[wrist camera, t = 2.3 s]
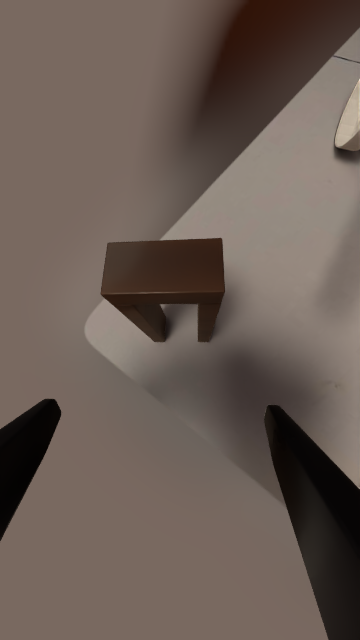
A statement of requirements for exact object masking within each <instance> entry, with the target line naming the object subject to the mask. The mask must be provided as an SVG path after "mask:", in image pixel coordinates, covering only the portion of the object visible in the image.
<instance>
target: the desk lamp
mask: <svg viewBox="0 0 360 640" xmlns="http://www.w3.org/2000/svg"><path fill="white" fill-rule="evenodd" d="M335 146H336V147H337V148H342V149H346V150H351V151H358V150H360V79H359V80H358V82H357V84H356V86H355V88H354V90H353V92H352V95H351V97H350V99H349V101H348V103H347V105H346V108H345V110H344V112H343V115H342V117H341V120H340V122H339V125H338V129H337V132H336V137H335Z"/></svg>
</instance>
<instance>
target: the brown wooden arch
mask: <svg viewBox="0 0 360 640" xmlns="http://www.w3.org/2000/svg"><path fill="white" fill-rule="evenodd" d="M224 293H225V282H224V263H223V244H222V238H212V239H187V240H163V241H140V242H116V243H115V242H114V243H108V244H107V252H106V258H105V265H104V272H103V280H102V287H101V295H102V296H103V297H104V298H105V299H106V300H107V301H109V302H110V303H111V304H112V305H113V306H114V307H116V308H117V309H118V310H119V311H120V312H121V313H122V314H123V315H125V316H126V317H127V318H128V319H129V320H130V321H131V322H133V323H134V324H135V325H136V326H137V327H138V328H139V329H141V330H142V331H143V332H144V333H145V334H146V335H147V336H148V337H150V338H151V339H152V340H153V341H154V342H165V326H166V316H165V314H164V312H163V310H162V308H161V306H160V304H198V342H209V340H210V337H211V334H212V331H213V328H214V324H215V321H216V318H217V315H218V312H219V309H220V306H221V302H222V299H223V296H224Z"/></svg>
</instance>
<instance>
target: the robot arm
mask: <svg viewBox="0 0 360 640" xmlns="http://www.w3.org/2000/svg"><path fill="white" fill-rule="evenodd" d="M60 417H61V410H60V408H59V406H58V404H57V402H56V400H55V399H44V400H42V401H41V402H39V403H38V404H36V405H35V406H33V407H32V408H31V409H29V410H28V411H26V412H25V413H23V414H22V415H20V416H19V417H17V418H16V419H15V420H13V421H12V422H10V423H9V424H7V425H6V426H4V427H3V428H1V429H0V541H1V539H2V537H3V535H4V533H5V531H6V529H7V527H8V525H9V523H10V521H11V519H12V517H13V515H14V514H15V512H16V510H17V508H18V506H19V504H20V502H21V500H22V498H23V496H24V494H25V492H26V490H27V488H28V486H29V485H30V483H31V481H32V479H33V477H34V475H35V473H36V471H37V469H38V467H39V465H40V463H41V461H42V459H43V457H44V455H45V453H46V451H47V449H48V446H49V444H50V441H51V439H52V437H53V434H54V432H55V429H56V427H57V424H58V422H59V420H60ZM264 423H265V428H266V433H267V438H268V442H269V447H270V452H271V456H272V461H273V465H274V469H275V472H276V475H277V478H278V482H279V485H280V488H281V491H282V494H283V497H284V500H285V504H286V507H287V510H288V513H289V516H290V519H291V523H292V526H293V529H294V532H295V535H296V538H297V541H298V545H299V547H300V551H301V554H302V557H303V560H304V563H305V566H306V570H307V573H308V576H309V579H310V582H311V585H312V589H313V592H314V595H315V598H316V601H317V604H318V608H319V611H320V614H321V617H322V620H323V623H324V626H325V630H326V633H327V636H328V639H329V640H360V489H359V488H358V487H357V486H356V485H355V484H354V483H353V482H352V481H351V480H350V479H349V478H348V477H347V476H346V475H345V474H344V473H343V472H342V470H341V469H340V468H339V467H338V466H337V465H336V464H335V463H334V462H333V461H332V460H331V459H330V458H329V457H328V456H327V455H326V454H325V453H324V452H323V451H322V450H321V449H320V448H319V446H318V445H317V444H316V443H315V442H314V441H313V440H312V439H311V438H310V437H309V436H308V435H307V434H306V433H305V432H304V431H303V430H302V429H301V428H300V427H299V426H298V425H297V424H296V422H295V421H294V420H293V419H292V418H291V417H290V416H289V415H288V414H287V413H286V412H285V411H284V410H283V409H282V408H281V407H280V406H279V405H268V406H267V408H266V412H265V416H264Z"/></svg>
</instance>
